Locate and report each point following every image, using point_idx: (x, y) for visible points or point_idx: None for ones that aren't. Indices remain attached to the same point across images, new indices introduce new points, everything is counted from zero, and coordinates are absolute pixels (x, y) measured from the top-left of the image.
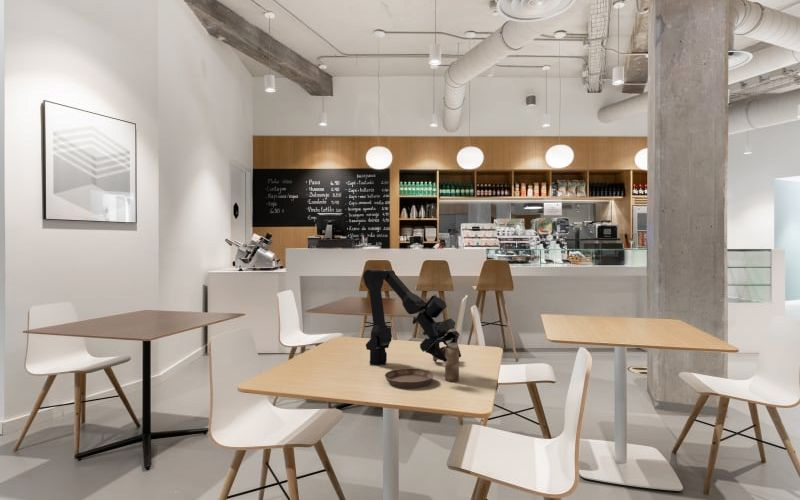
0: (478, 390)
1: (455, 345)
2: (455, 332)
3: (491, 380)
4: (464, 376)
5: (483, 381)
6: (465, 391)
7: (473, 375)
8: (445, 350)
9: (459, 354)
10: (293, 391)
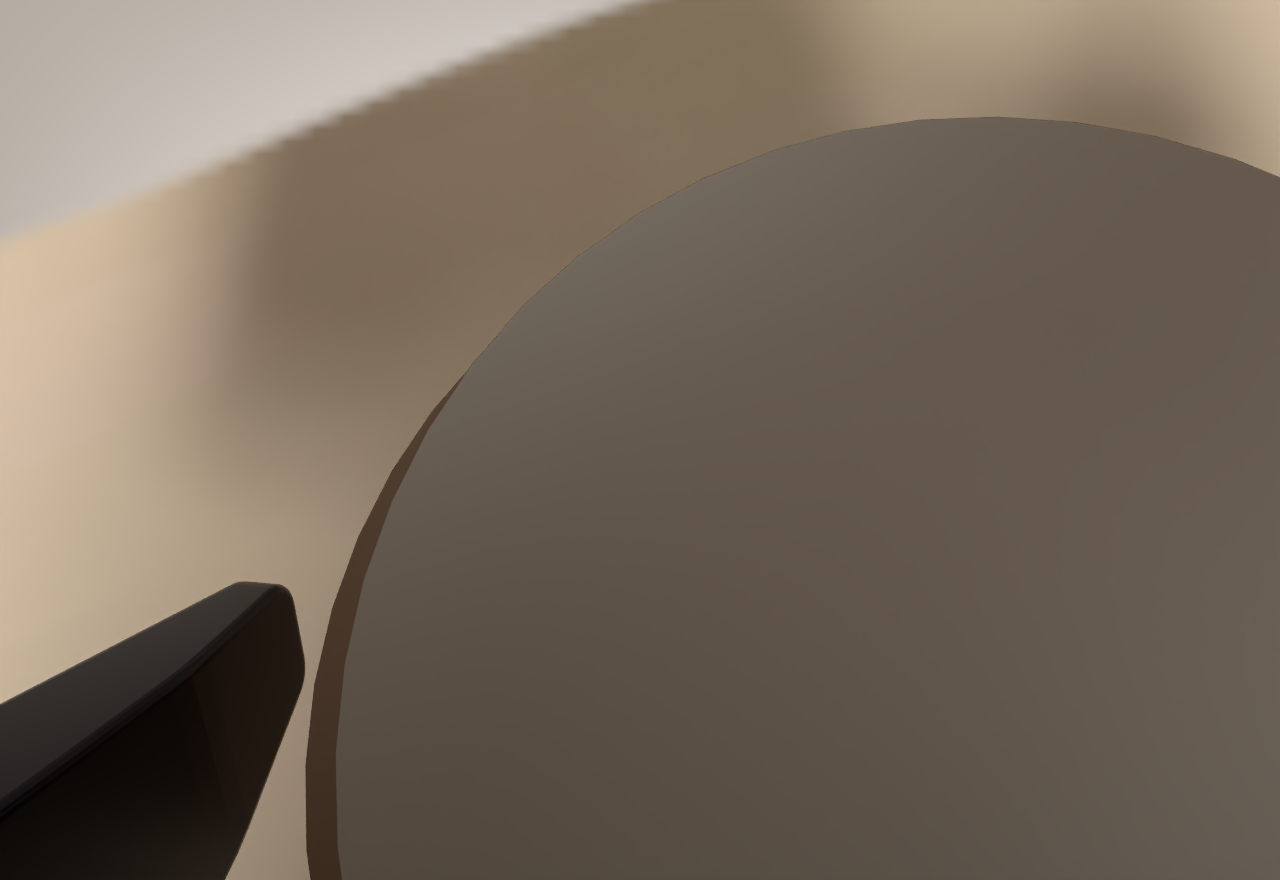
0: (1038, 24)
1: (1131, 203)
2: None
3: (319, 127)
4: (315, 671)
5: (460, 201)
6: (1268, 154)
7: (142, 547)
8: None
9: (249, 646)
10: None
